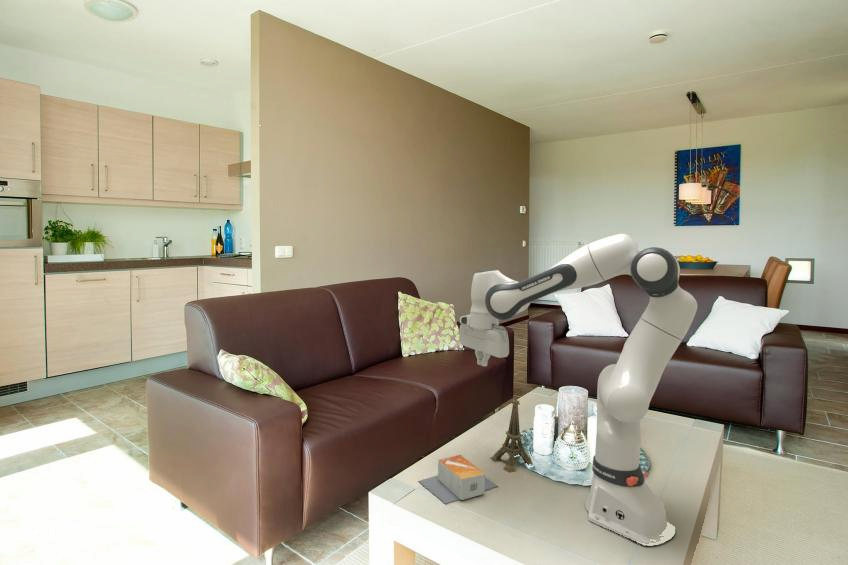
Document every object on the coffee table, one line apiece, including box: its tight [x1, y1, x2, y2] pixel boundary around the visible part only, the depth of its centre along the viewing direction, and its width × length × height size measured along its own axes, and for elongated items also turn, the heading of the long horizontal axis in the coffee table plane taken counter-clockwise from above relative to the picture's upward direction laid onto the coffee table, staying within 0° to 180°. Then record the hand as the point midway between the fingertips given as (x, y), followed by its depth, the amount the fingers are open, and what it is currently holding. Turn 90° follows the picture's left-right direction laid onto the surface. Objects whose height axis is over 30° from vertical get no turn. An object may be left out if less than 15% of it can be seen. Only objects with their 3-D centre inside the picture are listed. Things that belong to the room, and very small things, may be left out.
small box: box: [437, 454, 486, 501], centre depth 142 cm, size 8×6×13 cm
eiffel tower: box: [489, 394, 534, 474], centre depth 158 cm, size 11×11×25 cm
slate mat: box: [417, 474, 499, 505], centre depth 144 cm, size 14×19×1 cm
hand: (482, 365), depth 152 cm, fingers closed
